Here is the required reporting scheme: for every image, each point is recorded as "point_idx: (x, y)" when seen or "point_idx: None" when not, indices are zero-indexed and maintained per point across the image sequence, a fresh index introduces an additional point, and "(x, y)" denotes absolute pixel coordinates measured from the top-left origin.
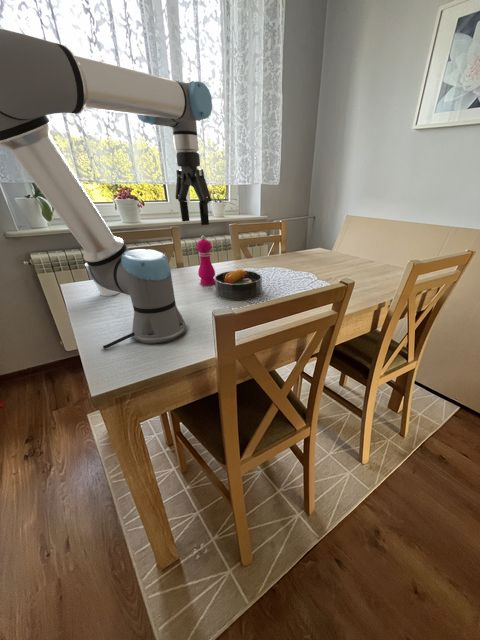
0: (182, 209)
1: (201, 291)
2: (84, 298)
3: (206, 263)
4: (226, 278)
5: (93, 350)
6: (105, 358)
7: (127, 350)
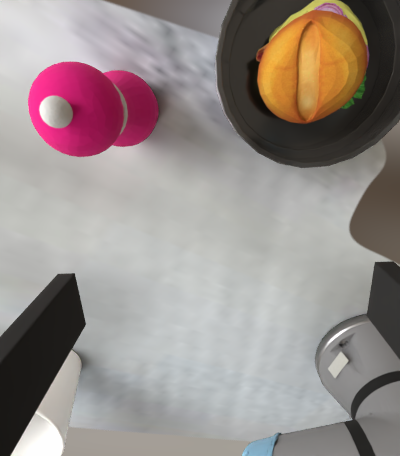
0: (39, 388)
1: (198, 172)
2: None
3: (131, 119)
4: (302, 120)
5: None
6: None
7: None
